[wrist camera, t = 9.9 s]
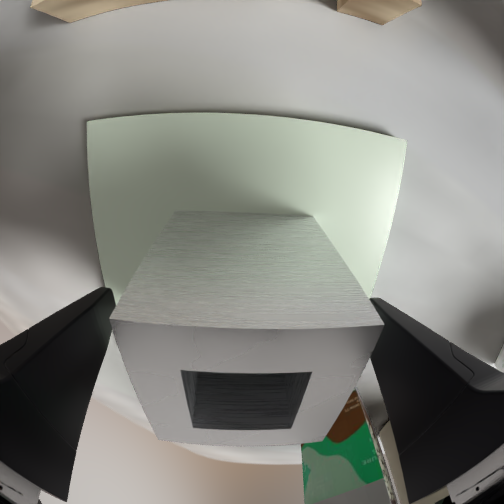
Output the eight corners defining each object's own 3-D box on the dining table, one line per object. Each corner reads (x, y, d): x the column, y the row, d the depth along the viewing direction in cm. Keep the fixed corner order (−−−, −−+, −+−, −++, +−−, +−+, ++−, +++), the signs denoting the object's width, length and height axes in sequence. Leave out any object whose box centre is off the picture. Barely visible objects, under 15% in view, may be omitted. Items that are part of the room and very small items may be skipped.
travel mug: (418, 391, 18) (479, 556, 2) (458, 391, 20) (513, 517, 4) (362, 437, 21) (398, 580, 5) (409, 433, 23) (447, 549, 7)
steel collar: (312, 216, 10) (384, 324, 5) (294, 322, 12) (322, 441, 7) (175, 210, 10) (109, 318, 4) (183, 319, 12) (158, 439, 7)
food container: (251, 393, 16) (259, 541, 7) (343, 358, 15) (393, 513, 6) (312, 447, 21) (327, 535, 12) (373, 424, 20) (400, 513, 11)
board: (397, 138, 9) (407, 140, 9) (339, 357, 15) (342, 367, 14) (96, 120, 9) (87, 121, 8) (130, 350, 14) (126, 360, 13)
